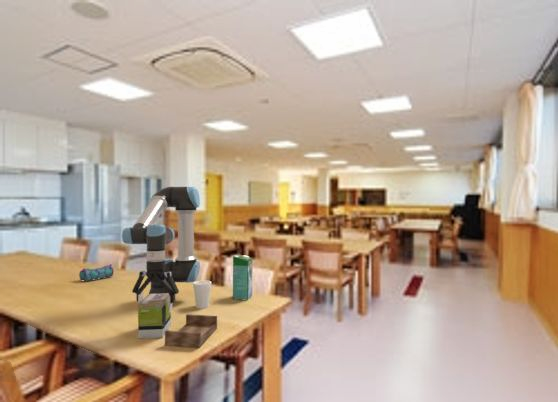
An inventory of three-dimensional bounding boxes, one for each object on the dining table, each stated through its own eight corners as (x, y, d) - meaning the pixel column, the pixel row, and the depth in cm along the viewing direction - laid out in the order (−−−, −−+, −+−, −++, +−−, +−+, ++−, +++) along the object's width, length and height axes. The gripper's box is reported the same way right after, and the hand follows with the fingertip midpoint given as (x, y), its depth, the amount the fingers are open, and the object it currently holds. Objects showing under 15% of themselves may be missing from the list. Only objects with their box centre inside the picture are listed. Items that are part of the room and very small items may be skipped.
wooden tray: (165, 345, 129) (165, 331, 129) (187, 326, 149) (187, 314, 149) (199, 348, 126) (199, 333, 127) (217, 328, 147) (217, 315, 147)
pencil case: (85, 283, 229) (85, 269, 229) (78, 281, 234) (78, 268, 234) (114, 277, 247) (114, 264, 247) (107, 276, 251) (107, 263, 252)
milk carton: (247, 300, 189) (248, 256, 189) (232, 299, 191) (233, 256, 191) (252, 296, 198) (252, 254, 198) (237, 295, 200) (238, 253, 200)
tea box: (148, 325, 150) (149, 292, 150) (171, 325, 151) (171, 292, 151) (137, 339, 135) (137, 302, 135) (162, 338, 136) (162, 302, 136)
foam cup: (214, 305, 180) (214, 281, 180) (205, 310, 171) (205, 285, 171) (199, 303, 183) (199, 279, 183) (189, 308, 174) (189, 283, 175)
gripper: (124, 260, 141) (123, 311, 141) (179, 262, 137) (178, 314, 137) (134, 258, 148) (133, 306, 148) (186, 259, 145) (186, 308, 144)
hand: (155, 309), depth 142 cm, fingers open, 13 cm apart
